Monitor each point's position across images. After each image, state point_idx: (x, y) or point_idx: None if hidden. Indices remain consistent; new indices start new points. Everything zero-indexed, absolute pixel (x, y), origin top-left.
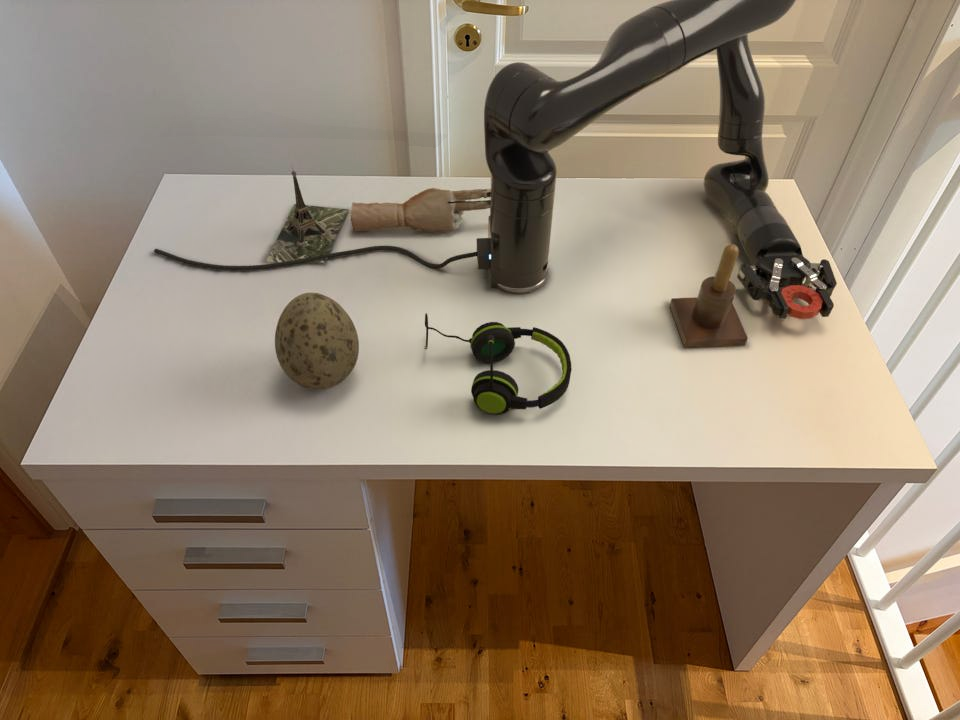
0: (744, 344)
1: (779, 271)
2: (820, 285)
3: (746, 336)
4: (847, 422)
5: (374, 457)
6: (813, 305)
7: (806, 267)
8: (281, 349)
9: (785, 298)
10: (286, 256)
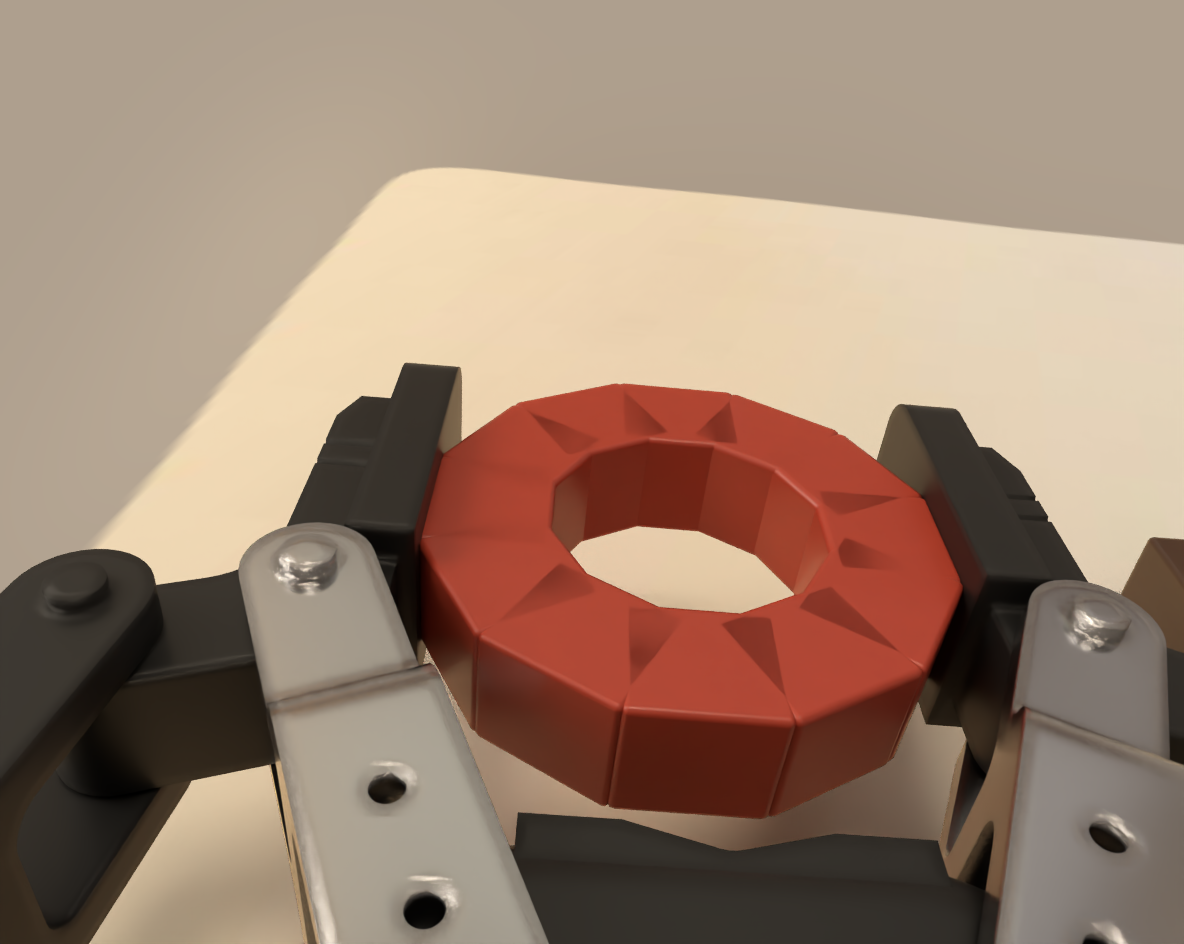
0: (1126, 594)
1: (1051, 874)
2: (328, 577)
3: (1165, 546)
4: (606, 251)
5: None
6: (588, 428)
7: (346, 918)
8: None
9: (901, 537)
10: None
